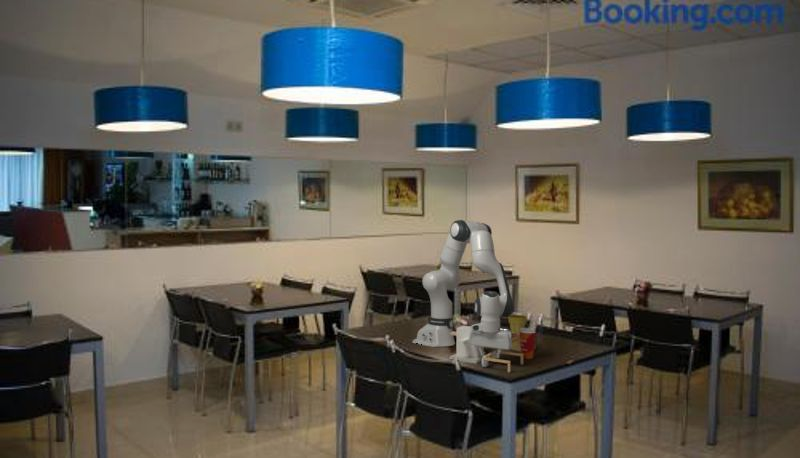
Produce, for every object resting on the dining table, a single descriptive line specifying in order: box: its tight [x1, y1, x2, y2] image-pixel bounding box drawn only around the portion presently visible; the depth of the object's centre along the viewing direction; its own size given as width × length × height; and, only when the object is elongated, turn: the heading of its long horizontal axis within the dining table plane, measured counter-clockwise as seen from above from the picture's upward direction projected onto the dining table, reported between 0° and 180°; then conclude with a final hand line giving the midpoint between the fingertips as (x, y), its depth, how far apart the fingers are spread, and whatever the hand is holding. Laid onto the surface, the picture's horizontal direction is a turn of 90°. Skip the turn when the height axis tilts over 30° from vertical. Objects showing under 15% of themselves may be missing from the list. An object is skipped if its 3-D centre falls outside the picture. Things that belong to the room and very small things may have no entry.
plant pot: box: [507, 314, 528, 335], centre depth 374 cm, size 10×10×10 cm
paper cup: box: [519, 327, 536, 360], centre depth 318 cm, size 8×8×14 cm
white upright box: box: [448, 325, 487, 364], centre depth 314 cm, size 18×14×14 cm
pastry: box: [510, 332, 537, 353], centre depth 338 cm, size 13×15×8 cm
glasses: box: [481, 349, 524, 373], centre depth 302 cm, size 16×14×5 cm
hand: (490, 356), depth 305 cm, fingers open, 6 cm apart
